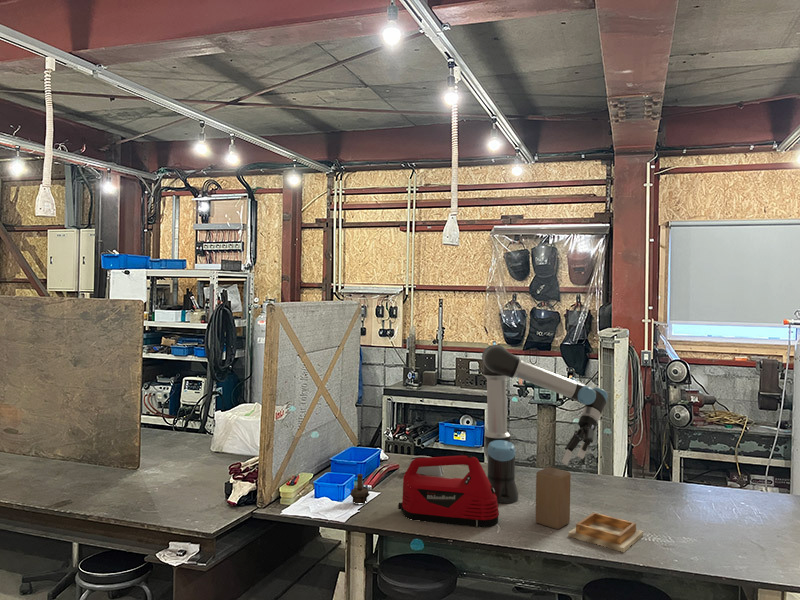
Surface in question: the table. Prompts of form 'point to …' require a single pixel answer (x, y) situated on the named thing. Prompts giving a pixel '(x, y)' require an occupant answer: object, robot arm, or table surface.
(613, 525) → the wooden tray
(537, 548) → the table surface
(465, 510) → the power tool
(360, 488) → the industrial component
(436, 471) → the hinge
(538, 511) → the block
